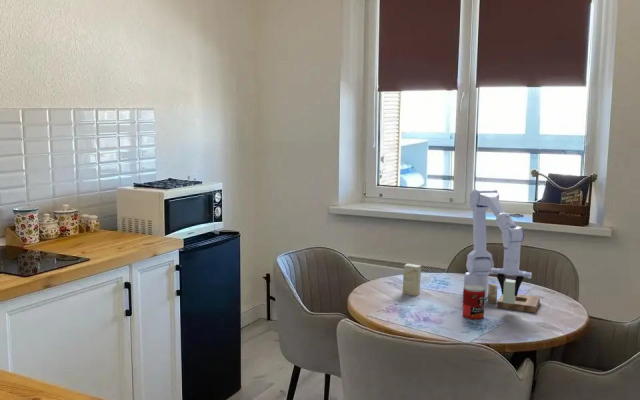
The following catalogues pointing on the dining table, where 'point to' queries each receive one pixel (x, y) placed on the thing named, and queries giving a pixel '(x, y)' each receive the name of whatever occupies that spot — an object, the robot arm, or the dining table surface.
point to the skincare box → (411, 279)
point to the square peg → (509, 291)
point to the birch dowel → (492, 293)
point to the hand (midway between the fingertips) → (509, 294)
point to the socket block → (521, 303)
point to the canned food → (473, 301)
